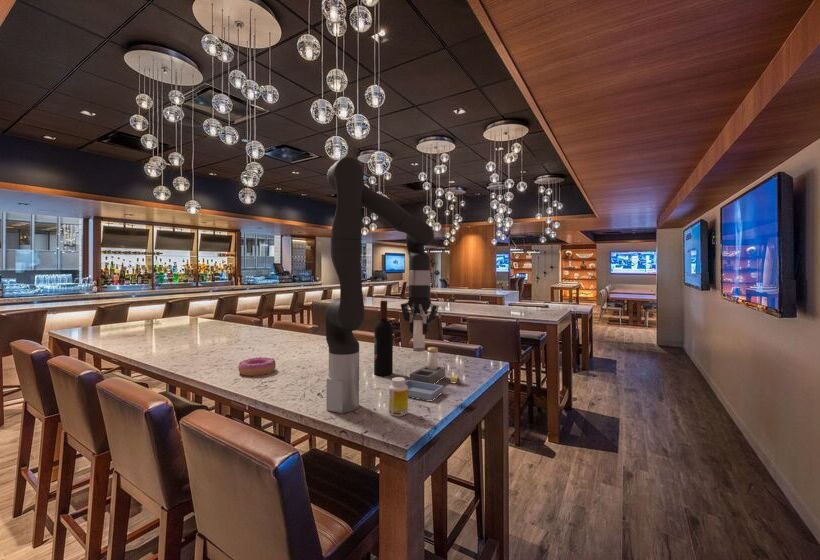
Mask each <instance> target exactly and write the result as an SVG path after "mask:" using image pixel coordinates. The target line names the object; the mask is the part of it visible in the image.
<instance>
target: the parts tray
mask: <svg viewBox="0 0 820 560" xmlns="http://www.w3.org/2000/svg"><path fill="white" fill-rule="evenodd" d="M405 385H407V386H408V397H414V398H419V399H424V400H433V399H434V398H436V397H437V396H438V395H439V394H440V393H442V392H443V393H444V385H442V384H441V385H440V384H437V383H436V384H430V383H424V382H418V381H412V380H410V379H407V380H405ZM443 393H442V394H443ZM438 397H439V396H438ZM438 397H437V398H438ZM414 398H413V399H414ZM437 398H436V399H437ZM419 399H418V400H419ZM424 400H423V401H424ZM434 400H435V399H434ZM434 400H433V401H434Z"/></svg>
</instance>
